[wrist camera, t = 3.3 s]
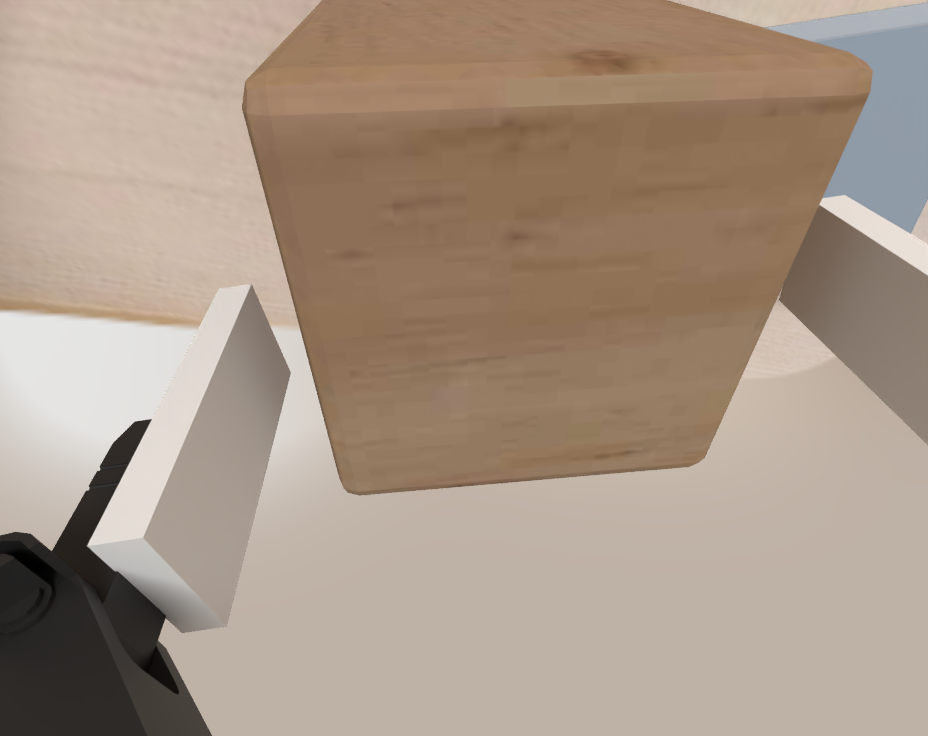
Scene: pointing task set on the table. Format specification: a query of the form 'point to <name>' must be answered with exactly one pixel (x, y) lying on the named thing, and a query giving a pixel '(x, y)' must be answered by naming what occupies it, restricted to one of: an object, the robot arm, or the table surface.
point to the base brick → (883, 109)
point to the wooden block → (537, 224)
